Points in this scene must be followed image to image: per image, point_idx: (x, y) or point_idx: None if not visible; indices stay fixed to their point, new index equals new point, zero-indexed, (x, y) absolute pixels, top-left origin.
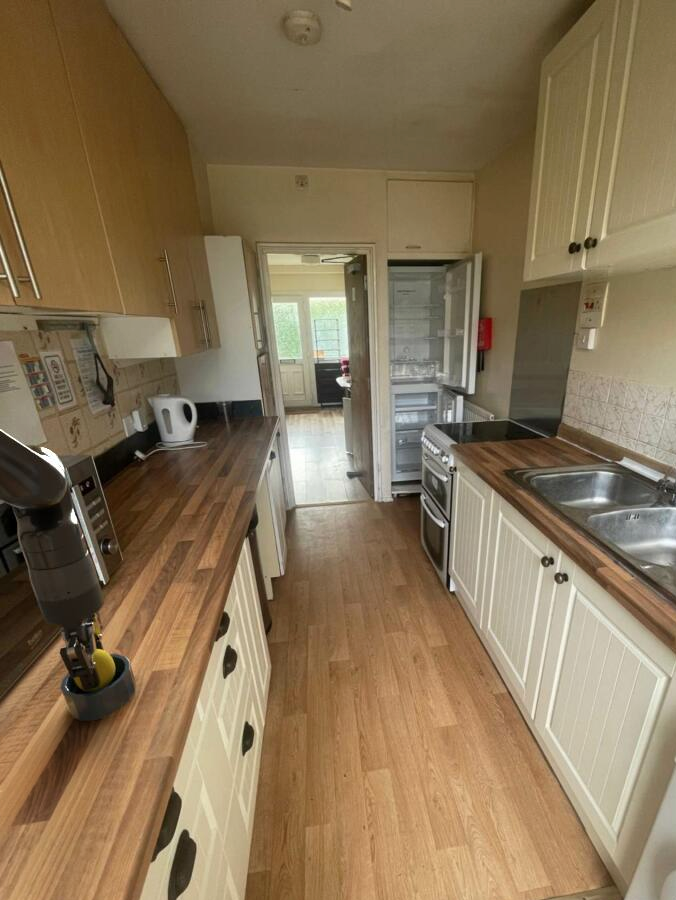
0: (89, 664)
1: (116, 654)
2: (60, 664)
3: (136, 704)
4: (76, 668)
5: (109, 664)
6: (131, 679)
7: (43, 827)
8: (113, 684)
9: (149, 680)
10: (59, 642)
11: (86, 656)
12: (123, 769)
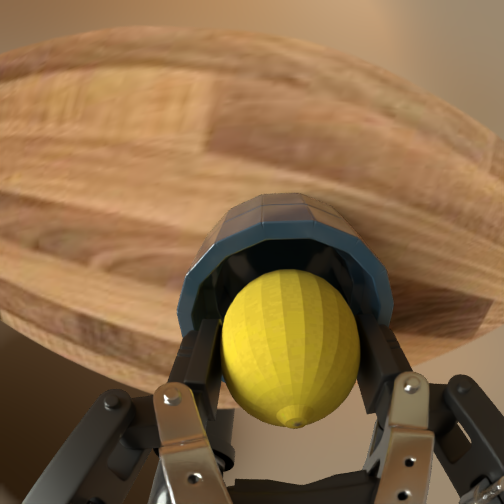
0: (478, 408)
1: (189, 280)
2: (128, 360)
3: (338, 187)
4: (441, 432)
5: (325, 311)
6: (310, 207)
7: (497, 303)
8: (376, 268)
9: (245, 156)
10: (73, 361)
11: (501, 445)
12: (488, 210)
